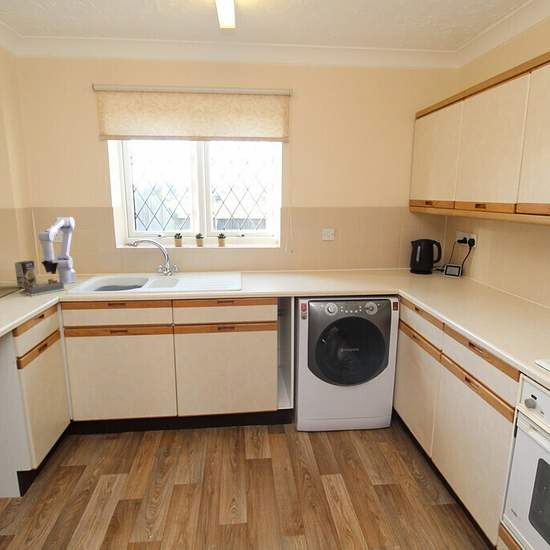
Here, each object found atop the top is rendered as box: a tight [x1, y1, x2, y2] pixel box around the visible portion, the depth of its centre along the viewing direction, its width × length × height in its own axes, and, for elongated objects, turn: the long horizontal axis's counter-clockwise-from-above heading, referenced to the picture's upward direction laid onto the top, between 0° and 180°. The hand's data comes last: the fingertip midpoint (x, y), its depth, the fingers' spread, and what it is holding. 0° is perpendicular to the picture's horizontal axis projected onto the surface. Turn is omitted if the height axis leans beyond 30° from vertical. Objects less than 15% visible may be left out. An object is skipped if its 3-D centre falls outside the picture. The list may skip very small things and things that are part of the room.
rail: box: [29, 281, 65, 294], centre depth 241 cm, size 18×4×4 cm, turn 140°
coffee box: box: [14, 260, 38, 289], centre depth 255 cm, size 9×6×16 cm
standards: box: [22, 278, 58, 294], centre depth 247 cm, size 18×8×5 cm, turn 140°
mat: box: [26, 287, 67, 297], centre depth 241 cm, size 20×8×1 cm, turn 140°
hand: (51, 273), depth 248 cm, fingers open, 7 cm apart
